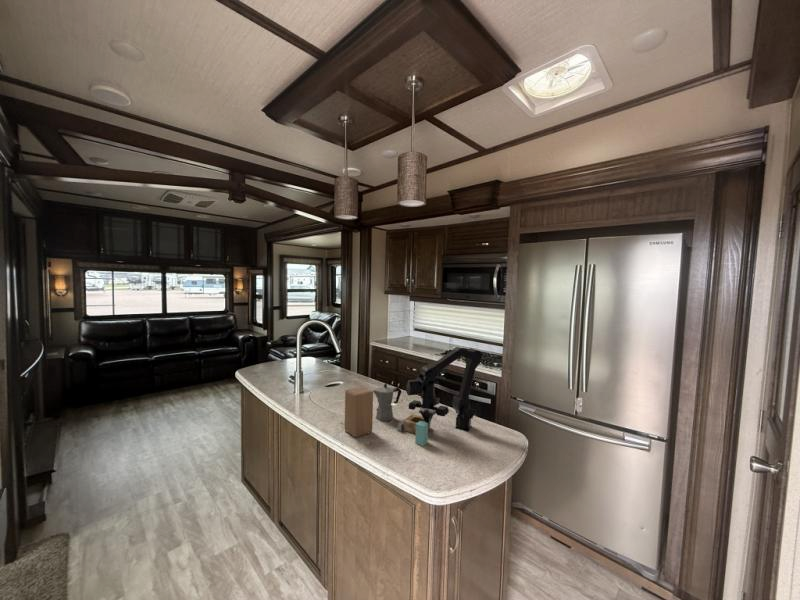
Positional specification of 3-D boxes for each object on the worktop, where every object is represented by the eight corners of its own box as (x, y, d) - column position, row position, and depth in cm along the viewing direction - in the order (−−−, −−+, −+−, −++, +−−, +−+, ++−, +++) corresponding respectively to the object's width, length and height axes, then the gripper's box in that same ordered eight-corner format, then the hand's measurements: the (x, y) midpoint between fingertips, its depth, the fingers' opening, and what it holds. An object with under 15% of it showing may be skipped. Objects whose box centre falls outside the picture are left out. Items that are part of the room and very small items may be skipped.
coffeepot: (374, 422, 160) (375, 387, 160) (370, 415, 169) (371, 382, 169) (403, 420, 165) (404, 385, 164) (398, 413, 174) (398, 380, 173)
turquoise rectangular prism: (427, 442, 141) (428, 422, 141) (423, 446, 138) (423, 426, 138) (419, 440, 143) (420, 420, 143) (415, 444, 140) (415, 423, 140)
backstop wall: (415, 422, 163) (415, 415, 163) (401, 432, 151) (401, 425, 151) (411, 421, 164) (412, 414, 164) (397, 431, 152) (397, 423, 152)
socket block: (430, 427, 156) (430, 418, 156) (421, 435, 148) (421, 425, 148) (413, 423, 161) (413, 414, 161) (403, 430, 153) (403, 420, 153)
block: (343, 430, 151) (344, 389, 150) (361, 425, 157) (362, 385, 157) (354, 438, 143) (355, 394, 143) (373, 432, 150) (374, 390, 149)
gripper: (453, 391, 153) (453, 423, 153) (418, 385, 162) (418, 416, 163) (443, 398, 143) (443, 432, 144) (408, 391, 153) (407, 423, 153)
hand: (428, 425), depth 151 cm, fingers closed
